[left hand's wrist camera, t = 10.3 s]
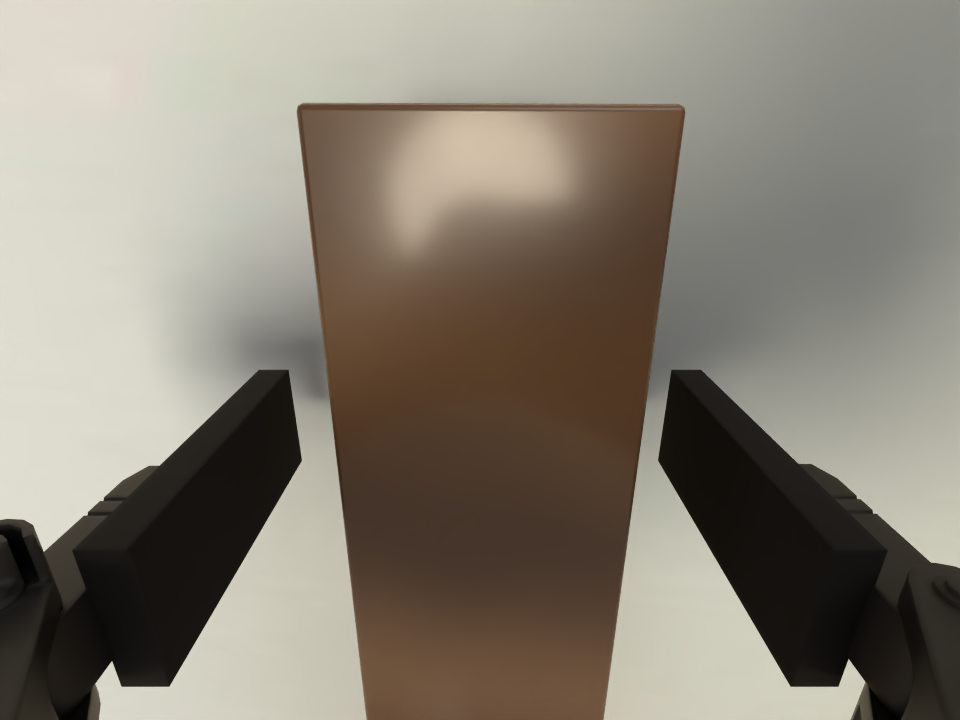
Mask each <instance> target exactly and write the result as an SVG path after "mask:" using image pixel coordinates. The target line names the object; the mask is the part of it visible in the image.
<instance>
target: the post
mask: <svg viewBox="0 0 960 720" xmlns="http://www.w3.org/2000/svg"><path fill="white" fill-rule="evenodd" d="M297 118H298V126H299V135H300V144H301V152H302V161H303V170H304V179H305V187H306V196H307V205H308V213H309V222H310V231H311V239H312V248H313V257H314V266H315V274H316V283H317V292H318V300H319V309H320V318H321V327H322V335H323V344H324V353H325V361H326V370H327V379H328V387H329V396H330V405H331V414H332V422H333V431H334V440H335V448H336V457H337V466H338V474H339V483H340V492H341V501H342V509H343V518H344V527H345V535H346V544H347V553H348V561H349V570H350V579H351V588H352V596H353V605H354V614H355V622H356V631H357V640H358V648H359V657H360V666H361V675H362V683H363V692H364V701H365V709H366V718H367V720H603V719H604V712H605V705H606V697H607V690H608V682H609V675H610V667H611V660H612V653H613V645H614V638H615V630H616V623H617V616H618V608H619V601H620V593H621V586H622V578H623V571H624V564H625V556H626V549H627V541H628V534H629V527H630V519H631V512H632V504H633V497H634V489H635V482H636V475H637V467H638V460H639V452H640V445H641V437H642V430H643V423H644V415H645V408H646V400H647V393H648V386H649V378H650V371H651V363H652V356H653V348H654V341H655V334H656V326H657V319H658V311H659V304H660V297H661V289H662V282H663V274H664V267H665V259H666V252H667V245H668V237H669V230H670V222H671V215H672V208H673V200H674V193H675V185H676V178H677V170H678V163H679V156H680V148H681V141H682V133H683V126H684V118H685V108H684V107H683V106H681V105H679V104H461V103H302V104H300V105H298V108H297Z"/></svg>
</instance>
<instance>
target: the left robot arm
mask: <svg viewBox="0 0 960 720" xmlns="http://www.w3.org/2000/svg"><path fill="white" fill-rule="evenodd" d="M301 461H302V458H301V452H300V445H299V438H298V431H297V425H296V418H295V411H294V404H293V397H292V391H291V384H290V377H289V370H259V371H257V372H256V373H255V374H254V375H253V376H252V377H251V378H250V379H249V380H248V381H247V382H246V383H245V384H244V385H243V386H242V387H241V388H240V389H239V390H238V391H237V392H236V393H235V394H234V395H233V396H232V397H231V398H229V399H228V400H227V401H226V402H225V403H224V404H223V405H222V406H221V407H220V408H219V409H218V410H217V411H216V412H215V413H214V414H213V415H212V416H211V417H210V418H209V419H208V420H207V421H206V422H205V423H204V424H203V425H202V426H200V427H199V428H198V429H197V430H196V431H195V432H194V433H193V434H192V435H191V436H190V437H189V438H188V439H187V440H186V441H185V442H184V443H183V444H182V445H181V446H180V447H179V448H178V449H177V450H176V451H175V452H174V453H172V454H171V455H170V456H169V457H168V458H167V459H166V460H165V461H164V462H163V463H162V464H161V465H160V466H148V467H146V468H144V469H143V470H141V471H139V472H137V473H135V474H134V475H132V476H130V477H128V478H127V479H125V480H123V481H122V482H121V483H120V484H119V485H117V486H116V487H115V488H114V489H113V490H112V491H111V492H110V493H109V494H108V495H106V496H105V497H104V501H100V502H99V503H98V504H96V505H95V506H94V507H93V508H92V509H91V510H90V511H89V512H88V515H87V516H83V517H82V518H81V519H80V520H79V521H78V522H77V523H76V524H74V525H73V526H72V527H71V528H70V529H69V530H68V531H67V532H66V533H64V534H63V535H62V536H61V537H60V538H59V539H58V540H57V541H56V542H55V543H53V544H52V545H51V546H50V547H49V548H48V549H47V550H46V551H45V552H43V549H42V547H41V544H40V542H39V539H38V537H37V534H36V531H35V529H34V526H33V525H32V524H30V523H28V522H27V521H25V520H16V519H4V520H0V720H99V713H100V698H99V693H98V690H97V687H96V685H95V683H96V682H97V680H98V679H99V678H100V676H101V675H102V674H103V672H104V671H105V670H106V668H107V667H108V665H109V664H110V663H111V661H113V664H114V667H115V670H116V672H117V675H118V678H119V681H120V683H121V686H122V687H169V686H170V684H171V683H172V681H173V679H174V678H175V676H176V674H177V673H178V671H179V669H180V667H181V666H182V664H183V662H184V661H185V659H186V657H187V655H188V654H189V652H190V650H191V649H192V647H193V645H194V644H195V642H196V640H197V638H198V637H199V635H200V633H201V632H202V630H203V628H204V626H205V625H206V623H207V621H208V620H209V618H210V616H211V615H212V613H213V611H214V609H215V608H216V606H217V604H218V603H219V601H220V599H221V597H222V596H223V594H224V592H225V591H226V589H227V587H228V586H229V584H230V582H231V580H232V579H233V577H234V575H235V574H236V572H237V570H238V569H239V567H240V565H241V563H242V562H243V560H244V558H245V557H246V555H247V553H248V551H249V550H250V548H251V546H252V545H253V543H254V541H255V540H256V538H257V536H258V534H259V533H260V531H261V529H262V528H263V526H264V524H265V522H266V521H267V519H268V517H269V516H270V514H271V512H272V511H273V509H274V507H275V505H276V504H277V502H278V500H279V499H280V497H281V495H282V494H283V492H284V490H285V488H286V487H287V485H288V483H289V482H290V480H291V478H292V476H293V475H294V473H295V471H296V470H297V468H298V466H299V465H300V463H301ZM658 461H659V463H660V465H661V466H662V468H663V470H664V471H665V473H666V475H667V476H668V478H669V480H670V482H671V483H672V485H673V487H674V488H675V490H676V492H677V494H678V495H679V497H680V499H681V500H682V502H683V504H684V505H685V507H686V509H687V511H688V512H689V514H690V516H691V517H692V519H693V521H694V523H695V524H696V526H697V528H698V529H699V531H700V533H701V534H702V536H703V538H704V540H705V541H706V543H707V545H708V546H709V548H710V550H711V551H712V553H713V555H714V557H715V558H716V560H717V562H718V563H719V565H720V567H721V569H722V570H723V572H724V574H725V575H726V577H727V579H728V580H729V582H730V584H731V586H732V587H733V589H734V591H735V592H736V594H737V596H738V598H739V599H740V601H741V603H742V604H743V606H744V608H745V609H746V611H747V613H748V615H749V616H750V618H751V620H752V621H753V623H754V625H755V626H756V628H757V630H758V632H759V633H760V635H761V637H762V638H763V640H764V642H765V644H766V645H767V647H768V649H769V650H770V652H771V654H772V655H773V657H774V659H775V661H776V662H777V664H778V666H779V667H780V669H781V671H782V673H783V674H784V676H785V678H786V679H787V681H788V683H789V684H790V686H791V687H838V686H839V683H840V681H841V678H842V675H843V672H844V670H845V667H846V664H847V661H848V659H849V660H850V661H851V663H852V664H853V665H854V667H855V668H856V669H857V671H858V672H859V673H860V675H861V676H862V678H863V679H864V680H865V685H864V687H863V690H862V693H861V695H860V698H859V700H858V703H857V705H856V708H855V710H854V713H853V716H852V718H851V720H960V568H957V567H954V566H949V565H944V564H938V563H931V562H930V561H928V560H927V559H926V558H925V557H924V556H923V555H922V554H921V553H920V552H918V551H917V550H916V549H915V548H914V547H913V546H912V545H911V544H910V543H908V542H907V541H906V540H905V539H904V538H903V537H902V536H901V535H900V534H898V533H897V532H896V531H895V530H894V529H893V528H892V527H891V526H890V525H888V524H887V523H886V522H885V521H884V520H883V519H882V518H881V517H880V516H878V515H877V514H873V512H872V511H873V510H872V509H871V508H870V507H868V506H867V505H866V504H865V503H864V502H863V501H862V500H861V499H857V496H856V495H855V494H854V493H853V492H852V491H851V490H850V489H848V488H847V487H846V486H845V485H844V484H843V483H842V482H841V481H840V480H838V479H837V478H835V477H834V476H832V475H830V474H828V473H826V472H825V471H823V470H821V469H819V468H817V467H816V466H814V465H812V464H798V463H797V462H796V461H795V460H794V459H793V458H792V457H791V456H790V455H789V454H788V453H786V452H785V451H784V450H783V449H782V448H781V447H780V446H779V445H778V444H777V443H776V442H775V441H774V440H773V439H772V438H771V437H770V436H769V435H768V434H767V433H766V432H765V431H764V430H763V429H762V428H761V427H760V426H758V425H757V424H756V423H755V422H754V421H753V420H752V419H751V418H750V417H749V416H748V415H747V414H746V413H745V412H744V411H743V410H742V409H741V408H740V407H739V406H738V405H737V404H736V403H735V402H734V401H733V400H732V399H730V398H729V397H728V396H727V395H726V394H725V393H724V392H723V391H722V390H721V389H720V388H719V387H718V386H717V385H716V384H715V383H714V382H713V381H712V380H711V379H710V378H709V377H708V376H707V375H706V374H705V373H704V372H703V371H701V370H671V377H670V384H669V391H668V397H667V404H666V411H665V418H664V424H663V431H662V438H661V445H660V452H659V458H658Z"/></svg>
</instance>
